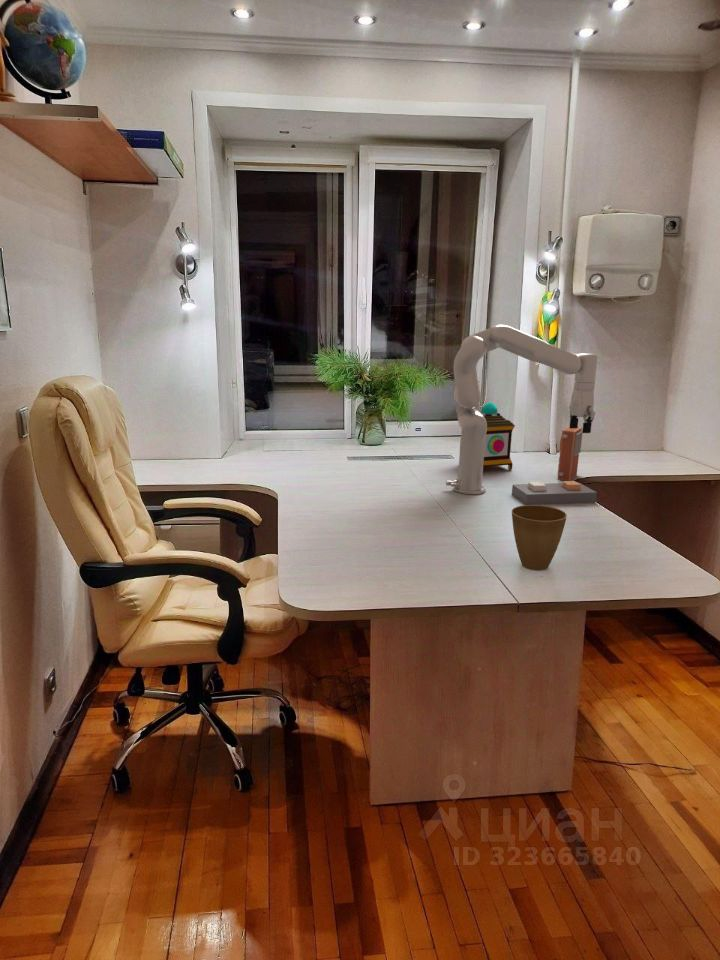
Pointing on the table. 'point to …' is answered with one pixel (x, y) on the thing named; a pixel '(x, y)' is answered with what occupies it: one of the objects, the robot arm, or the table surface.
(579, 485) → the orange key
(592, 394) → the robot arm
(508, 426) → the decorative lantern
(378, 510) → the table surface
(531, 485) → the ivory key
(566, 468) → the orange box
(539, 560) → the plant pot
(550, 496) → the keypad housing
